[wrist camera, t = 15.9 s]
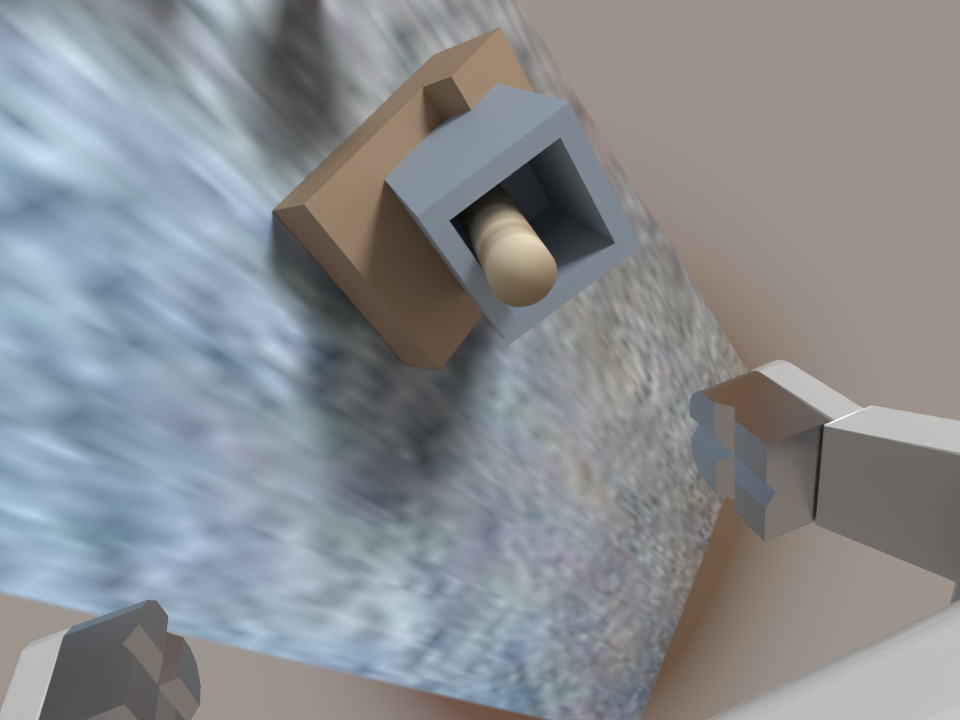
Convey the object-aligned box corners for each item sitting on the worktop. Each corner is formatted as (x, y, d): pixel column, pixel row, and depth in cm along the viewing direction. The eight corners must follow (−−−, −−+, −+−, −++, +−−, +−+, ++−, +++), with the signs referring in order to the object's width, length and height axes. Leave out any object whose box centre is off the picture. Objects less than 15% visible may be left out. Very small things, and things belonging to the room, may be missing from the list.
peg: (442, 193, 42) (477, 269, 32) (487, 163, 41) (537, 230, 31) (470, 234, 43) (511, 319, 33) (513, 206, 43) (568, 282, 33)
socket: (272, 210, 39) (440, 178, 27) (433, 55, 46) (623, -25, 34) (405, 365, 47) (582, 392, 35) (526, 211, 54) (708, 191, 42)
